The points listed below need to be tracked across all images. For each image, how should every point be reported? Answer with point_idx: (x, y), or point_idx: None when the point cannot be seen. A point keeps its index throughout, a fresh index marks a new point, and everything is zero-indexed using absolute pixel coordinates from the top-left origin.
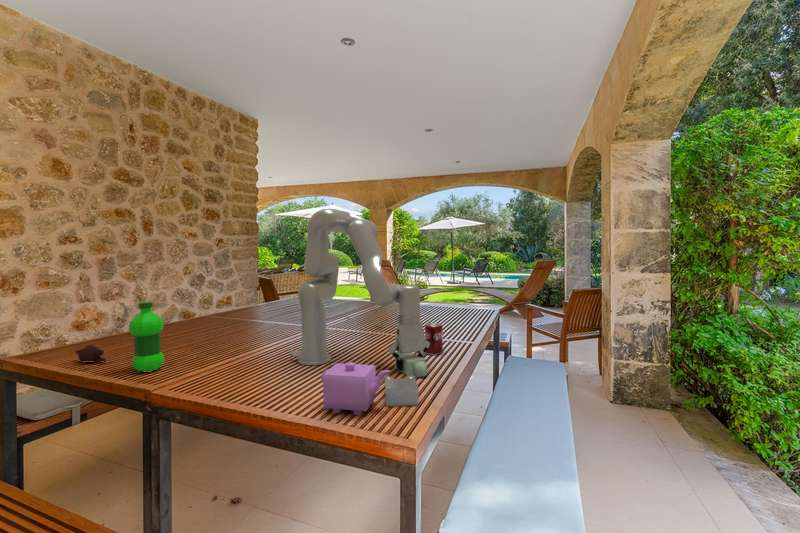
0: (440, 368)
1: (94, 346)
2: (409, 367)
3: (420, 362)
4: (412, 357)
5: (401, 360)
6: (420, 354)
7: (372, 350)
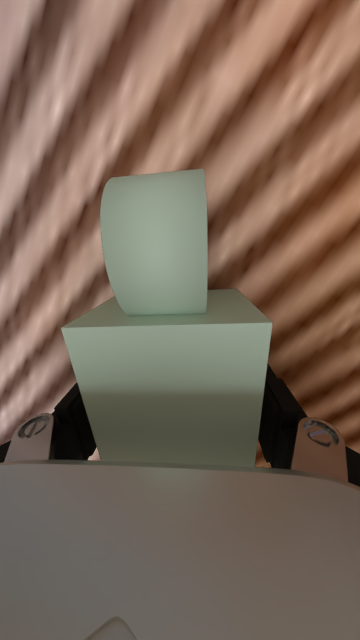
0: (7, 319)
1: None
2: (247, 304)
3: (159, 235)
4: (159, 419)
5: (291, 407)
6: (64, 436)
7: None
